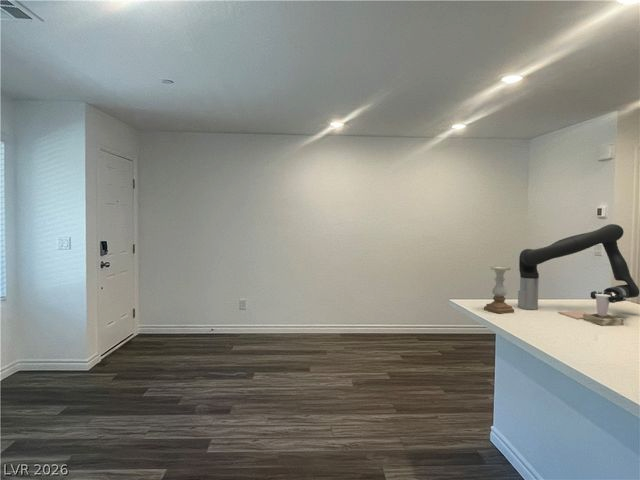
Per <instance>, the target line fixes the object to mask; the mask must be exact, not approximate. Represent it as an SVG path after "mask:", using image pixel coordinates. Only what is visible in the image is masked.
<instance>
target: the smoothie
mask: <svg viewBox="0 0 640 480" xmlns="http://www.w3.org/2000/svg"><path fill="white" fill-rule="evenodd" d="M601 287H602V288H601V292H602V294H595V297H596V299H595V300H596V310H597V311H596V312H597V313H596V314H598V315H601V316H607V314H608V311H609V305H610V301H608V300H609V297H610V295H606V294H603V293H604V290H605V286H604V285H602V286H601Z"/></svg>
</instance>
